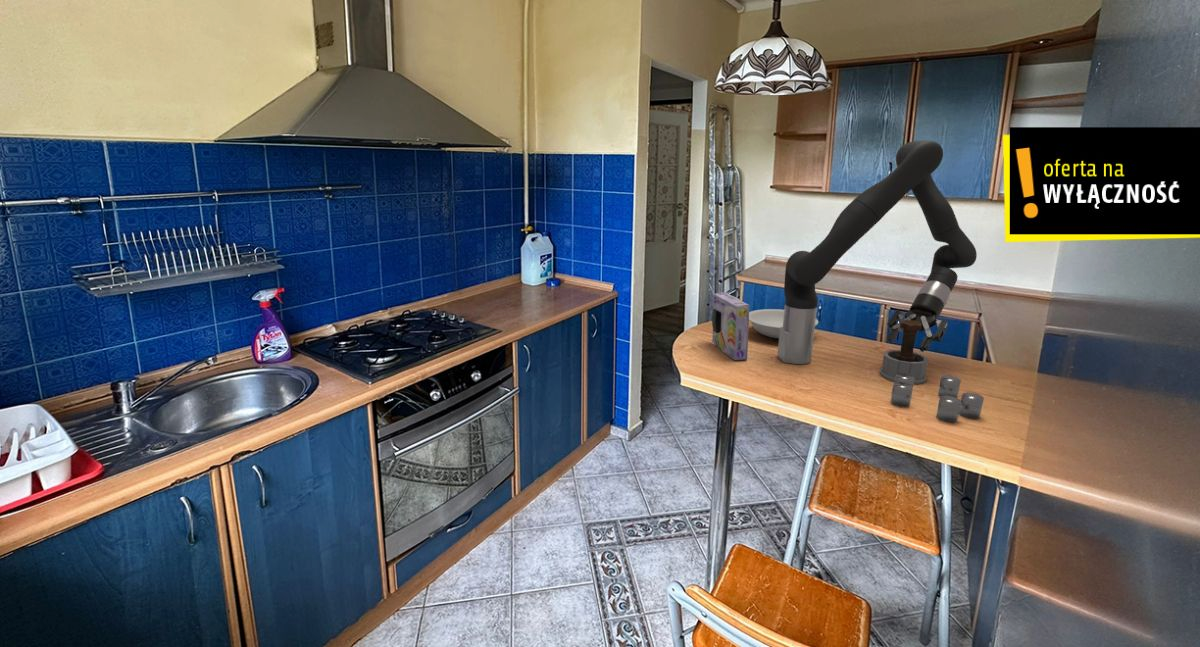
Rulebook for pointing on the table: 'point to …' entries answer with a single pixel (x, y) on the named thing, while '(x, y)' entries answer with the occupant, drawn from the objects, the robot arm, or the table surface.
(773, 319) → the soup bowl
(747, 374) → the table surface
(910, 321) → the bolt
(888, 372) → the round gray container
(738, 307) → the cake pan box
